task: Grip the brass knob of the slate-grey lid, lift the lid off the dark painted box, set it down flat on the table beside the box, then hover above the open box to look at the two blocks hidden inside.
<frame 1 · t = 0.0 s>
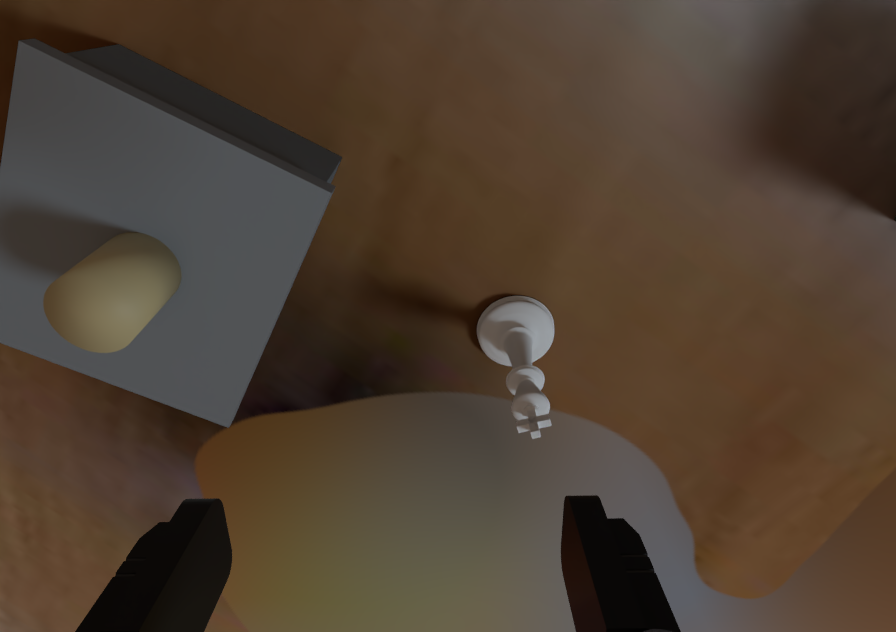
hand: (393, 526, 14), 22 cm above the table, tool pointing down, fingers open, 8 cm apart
chess piece: (514, 327, 37), on the table
lid: (151, 259, 28), point 6 cm above the table, touching box
box: (198, 216, 33), on the table
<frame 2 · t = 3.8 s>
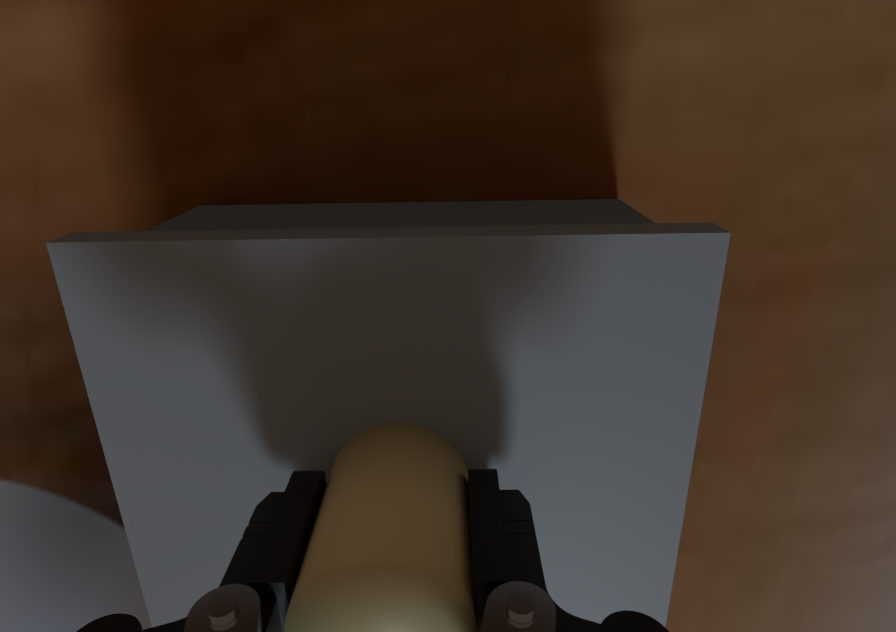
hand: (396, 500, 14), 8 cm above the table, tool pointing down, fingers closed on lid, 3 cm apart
lid: (403, 459, 16), point 6 cm above the table, touching box, gripper
box: (415, 363, 22), on the table
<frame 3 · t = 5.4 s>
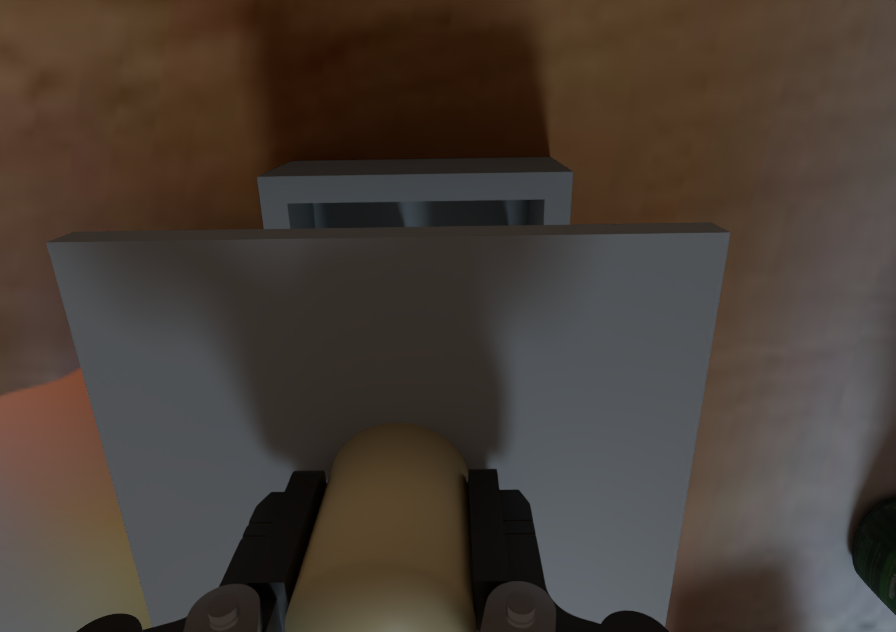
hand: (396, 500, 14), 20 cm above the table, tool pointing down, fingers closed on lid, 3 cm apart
lid: (403, 459, 16), point 19 cm above the table, touching gripper
box: (423, 266, 33), on the table
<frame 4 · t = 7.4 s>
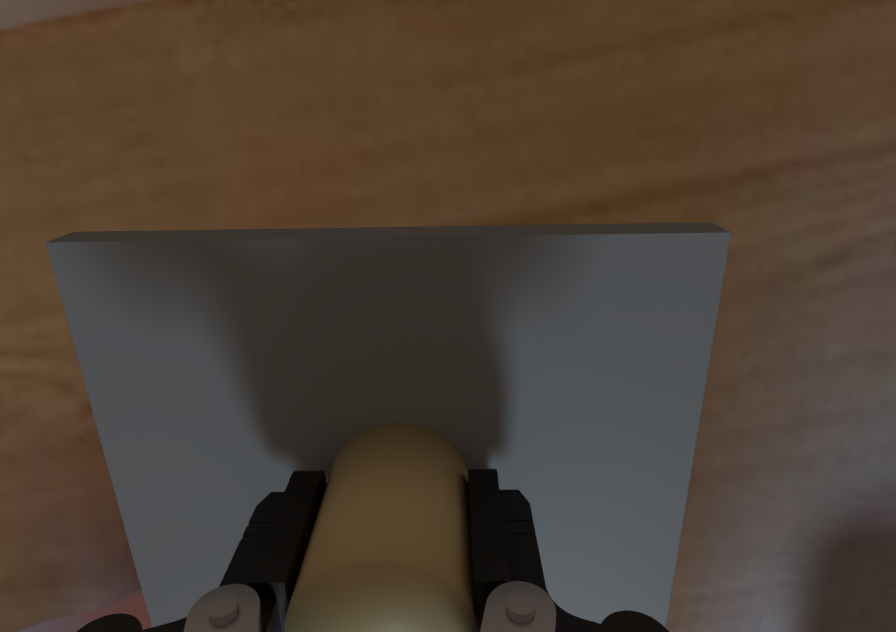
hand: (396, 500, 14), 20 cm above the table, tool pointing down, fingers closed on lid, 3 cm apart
lid: (403, 459, 16), point 18 cm above the table, touching gripper
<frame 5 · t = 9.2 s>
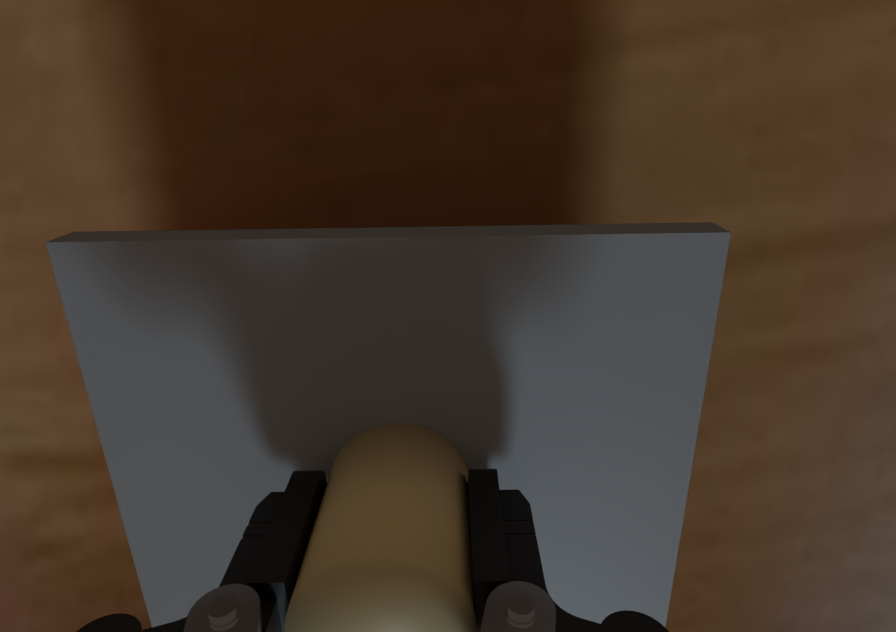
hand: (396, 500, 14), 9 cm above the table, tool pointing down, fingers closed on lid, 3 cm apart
lid: (403, 459, 16), point 7 cm above the table, touching gripper
when the fingers open (3 cm above the table, at t = 11.1 s): lid drops 2 cm, on the table.
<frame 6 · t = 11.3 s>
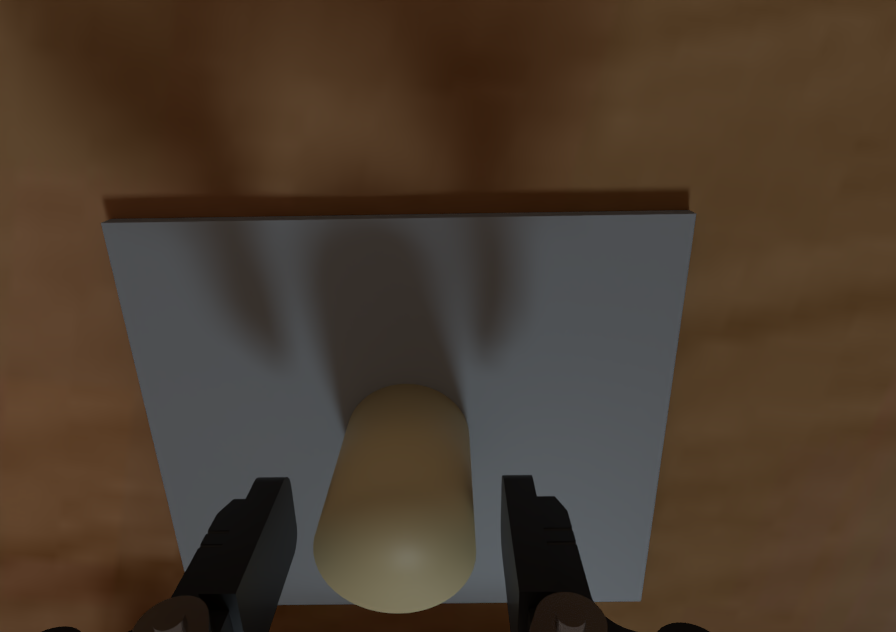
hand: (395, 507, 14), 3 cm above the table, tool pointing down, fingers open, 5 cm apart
lid: (410, 419, 18), on the table
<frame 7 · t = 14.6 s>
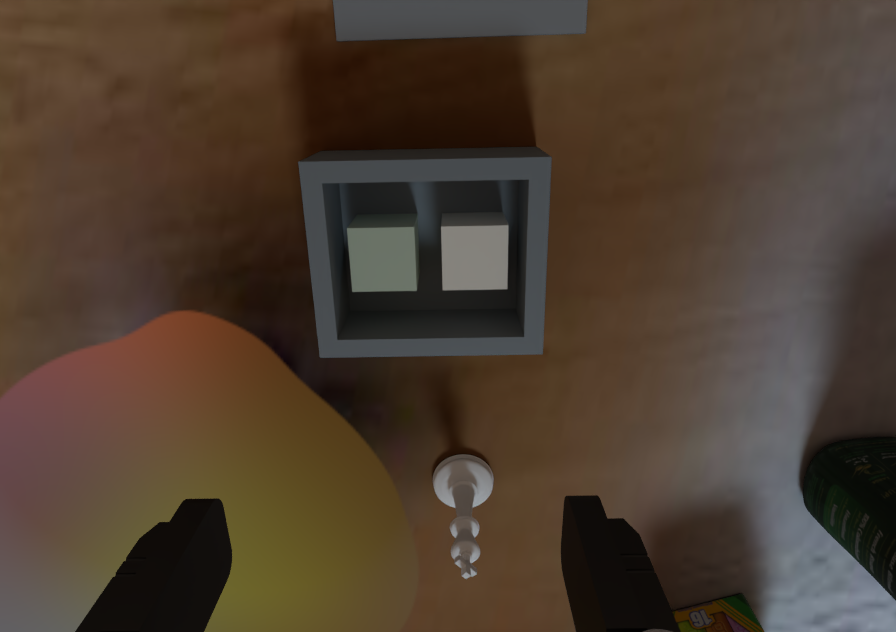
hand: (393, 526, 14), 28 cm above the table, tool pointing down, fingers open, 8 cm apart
sage block: (389, 243, 39), point 1 cm above the table, touching box
chess piece: (463, 477, 47), on the table
box: (431, 239, 40), on the table
cream block: (472, 242, 39), point 1 cm above the table, touching box
coffee jar: (857, 472, 47), on the table
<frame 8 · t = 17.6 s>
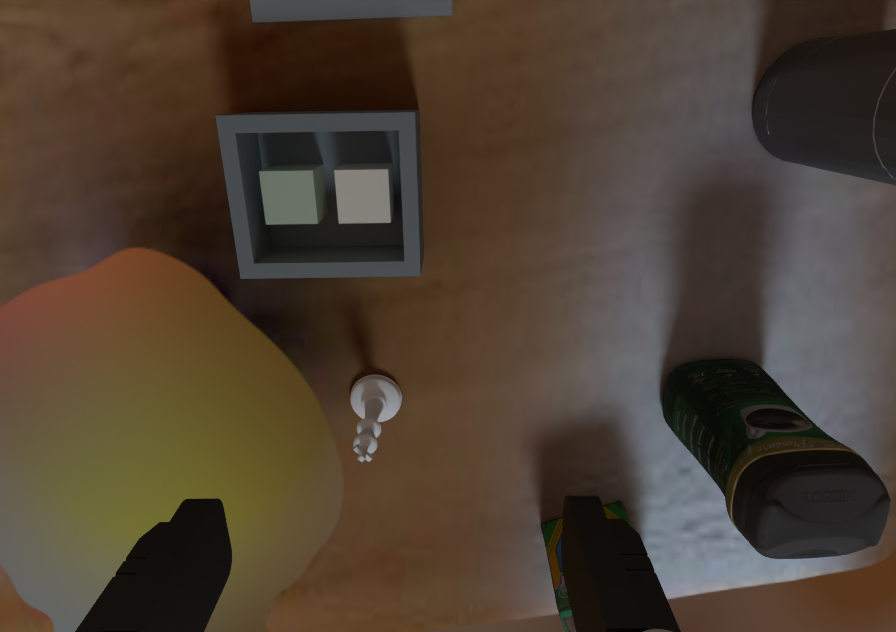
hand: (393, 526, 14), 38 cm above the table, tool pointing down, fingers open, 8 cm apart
sage block: (301, 189, 47), point 1 cm above the table, touching box
chess piece: (376, 396, 56), on the table
box: (337, 186, 48), on the table
cream block: (369, 188, 47), point 1 cm above the table, touching box
coffee jar: (709, 391, 56), on the table
chalk box: (591, 540, 62), on the table
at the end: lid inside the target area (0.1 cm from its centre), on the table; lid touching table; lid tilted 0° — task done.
